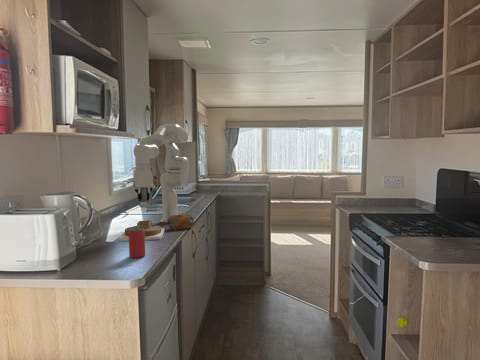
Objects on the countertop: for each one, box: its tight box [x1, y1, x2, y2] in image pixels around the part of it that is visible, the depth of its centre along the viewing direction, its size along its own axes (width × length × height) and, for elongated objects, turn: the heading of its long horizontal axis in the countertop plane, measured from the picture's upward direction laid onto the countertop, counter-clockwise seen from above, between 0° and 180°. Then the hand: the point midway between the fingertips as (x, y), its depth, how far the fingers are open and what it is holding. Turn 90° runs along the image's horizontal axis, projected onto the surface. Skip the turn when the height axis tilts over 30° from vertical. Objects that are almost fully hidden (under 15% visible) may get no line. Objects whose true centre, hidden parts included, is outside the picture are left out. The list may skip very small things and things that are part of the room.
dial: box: [124, 220, 162, 236], centre depth 192 cm, size 19×19×4 cm
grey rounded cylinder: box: [140, 187, 148, 206], centre depth 197 cm, size 4×4×10 cm
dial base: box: [118, 227, 166, 242], centre depth 192 cm, size 21×21×2 cm
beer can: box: [128, 228, 146, 259], centre depth 153 cm, size 7×7×12 cm
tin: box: [167, 213, 194, 230], centre depth 209 cm, size 15×3×8 cm, turn 105°
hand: (143, 200), depth 197 cm, fingers closed on grey rounded cylinder, 3 cm apart
